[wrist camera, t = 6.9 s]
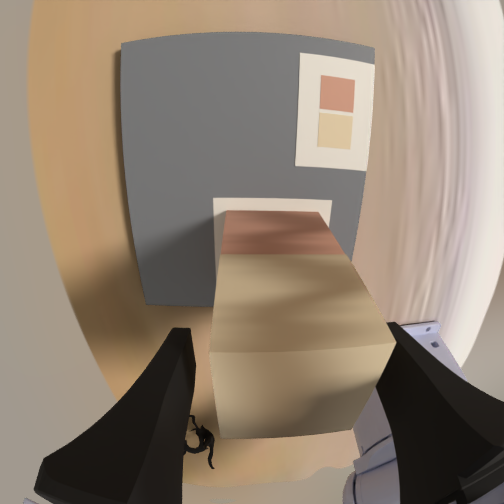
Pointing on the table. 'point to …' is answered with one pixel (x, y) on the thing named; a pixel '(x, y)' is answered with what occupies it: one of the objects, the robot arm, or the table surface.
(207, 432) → the creature
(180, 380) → the robot arm
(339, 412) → the maple block
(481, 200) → the table surface
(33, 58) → the table surface
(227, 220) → the rust block
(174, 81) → the build board
